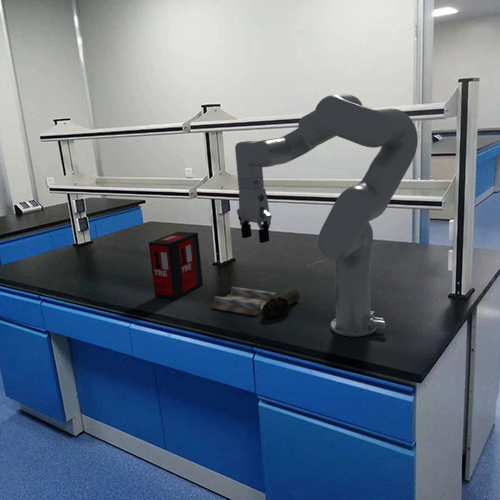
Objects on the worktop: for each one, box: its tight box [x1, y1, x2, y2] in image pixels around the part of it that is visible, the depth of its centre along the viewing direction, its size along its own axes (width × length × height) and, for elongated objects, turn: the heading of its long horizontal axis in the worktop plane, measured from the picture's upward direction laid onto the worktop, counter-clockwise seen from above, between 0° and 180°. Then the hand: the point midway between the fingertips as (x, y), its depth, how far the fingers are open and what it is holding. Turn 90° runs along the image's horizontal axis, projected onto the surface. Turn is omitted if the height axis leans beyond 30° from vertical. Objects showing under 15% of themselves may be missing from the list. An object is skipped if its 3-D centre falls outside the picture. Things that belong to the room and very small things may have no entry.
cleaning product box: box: [148, 231, 204, 301], centre depth 180 cm, size 16×9×20 cm, turn 151°
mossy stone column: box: [261, 288, 301, 319], centre depth 157 cm, size 18×7×6 cm, turn 148°
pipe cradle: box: [211, 286, 278, 317], centre depth 165 cm, size 17×14×3 cm
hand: (255, 239), depth 155 cm, fingers open, 9 cm apart
